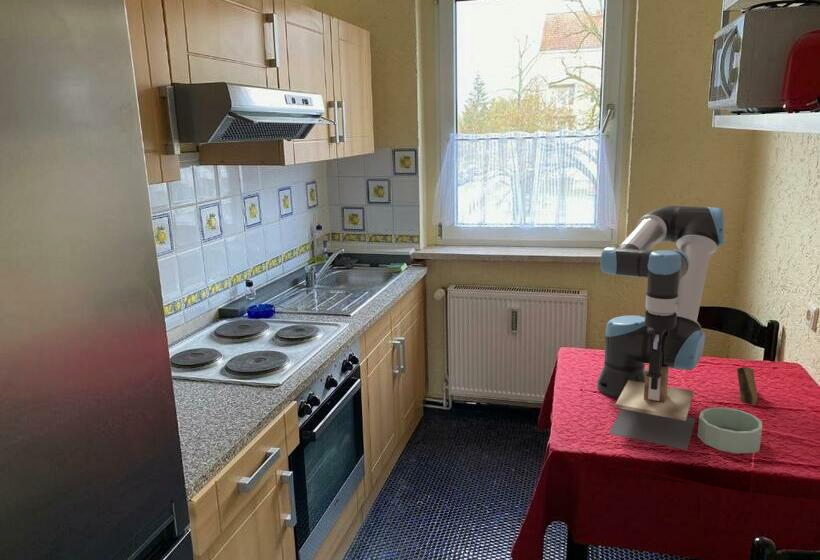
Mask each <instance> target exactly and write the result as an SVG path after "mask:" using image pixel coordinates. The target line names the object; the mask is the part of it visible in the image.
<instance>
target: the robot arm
mask: <svg viewBox="0 0 820 560" xmlns="http://www.w3.org/2000/svg"><path fill="white" fill-rule="evenodd" d="M724 212H725V211H724V210H723V209H722V208H719V207H712V206H711V207H710V206H686V205H685V206H684V205H664V206H662V207H657V208H656V209H653V210H651V211H649V212H647V213H645V214H644V215H642V216H641V217H640V218H639V219H638V220H637V222H636V224H635V228H634V230H632V232H631V233H630V234H628V236H627V237H626V238H625V239H624V240H623V241H622V243H620V245H619V246H618V247H615V246H612V247H610V246H609V247H604V248H603V249H602V252H601V255H600V261H599V262H600V264H599V265H600V271H601V272H602V274H603V273H604V274H607V275H612V276H619V277H620V276H622V277H623V276H624V277H632V278H634V277H635V278H643V279H647V281H646V283H647V284H646V285H647V286H646V295H645V307H644V308H645V309H646V310H645V314H644V316H641V315H621V316H617V317H613V318H611V319H610V320H608V321H607V323H606V327H605V333H604V336H605V341H604V360H603V361H604V362H603V366H602V369H601V372H600V375H599V377H598V378H597V379H598V380H597V383H596V385H597V391H599V392H600V393H601V394H602V395H605V396H607V397H609V398H613V399H617V400H618V398H619V396H620V395H621V393H622V391H623V389H624V387H625V385H626V384H627V382H628V380H631V381H637V382H643V383H645V371H646V367H645V366H646V364H648V365H649V373H648V374H646V376H649V391H648V399H651V400H657V401H659V399H660V384H661V377H660V376H661V375H660V372H661V366H662V367H669V369H670V368H671V369H675V370H684V371H685V370H686V371H692V370H694V369H695V368H696V367H697V366H698V364H699V362H700V360H701V357H702V355H703V352H704V346H705V342H706V333H705V332H704V331H702V326H701V324H700V323H699V322H698V316H699V312H700V308H701V307H700V306H701V301H702V297H703V292H704V287H705V286H704V285H705V281H706V278H707V273H708V272H707V271H708V266H709V261H710V257H711V255H713V254H715V252H717V250H718V247H720V246H724V243H725V214H724ZM661 242H665V243H666V242H669V243H675V244H676V247H677V249H669V250H666V249H665V250H664V249H662V250H661V249H660V250H659V249H658V250H652V249H653V247H654V246H656V245H657V244H660V243H661Z"/></svg>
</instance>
